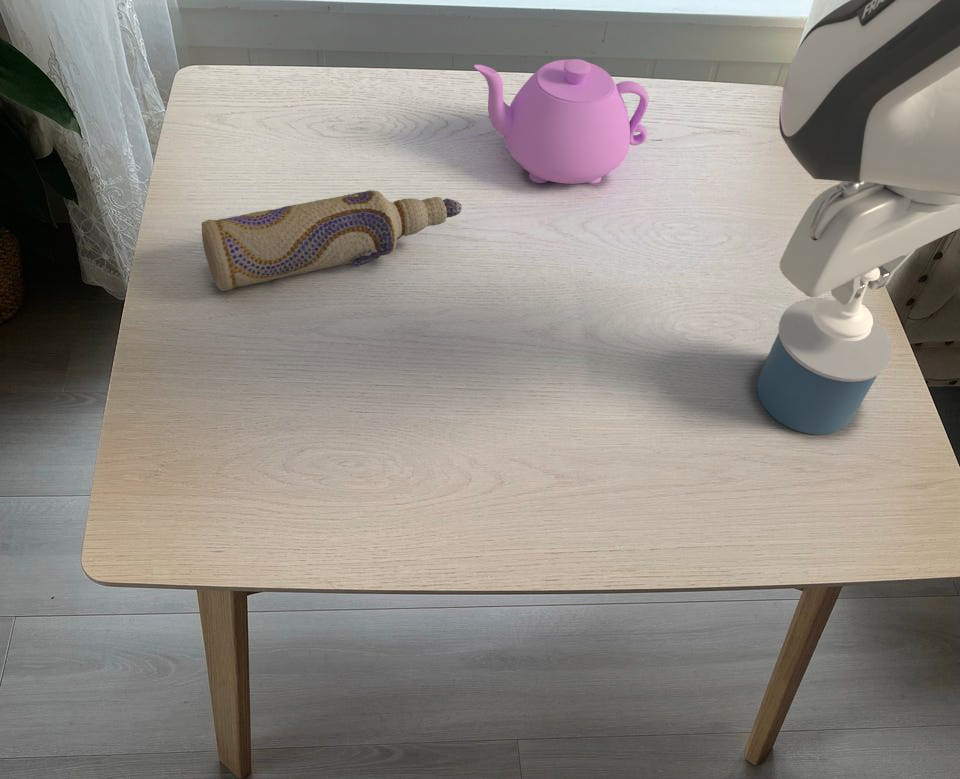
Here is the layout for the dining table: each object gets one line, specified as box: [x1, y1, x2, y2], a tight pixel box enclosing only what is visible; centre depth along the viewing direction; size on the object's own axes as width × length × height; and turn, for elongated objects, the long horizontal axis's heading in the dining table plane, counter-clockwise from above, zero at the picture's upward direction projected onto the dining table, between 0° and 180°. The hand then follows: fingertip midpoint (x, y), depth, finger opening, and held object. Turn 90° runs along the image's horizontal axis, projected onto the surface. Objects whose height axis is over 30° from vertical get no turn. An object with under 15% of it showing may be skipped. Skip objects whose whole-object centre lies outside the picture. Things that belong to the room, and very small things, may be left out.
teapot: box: [473, 58, 650, 185], centre depth 104 cm, size 20×14×12 cm
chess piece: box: [812, 268, 880, 341], centre depth 76 cm, size 5×5×10 cm
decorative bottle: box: [200, 189, 463, 292], centre depth 93 cm, size 26×8×7 cm, turn 112°
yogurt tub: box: [756, 297, 893, 436], centre depth 85 cm, size 10×10×8 cm
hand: (858, 290), depth 77 cm, fingers closed on chess piece
